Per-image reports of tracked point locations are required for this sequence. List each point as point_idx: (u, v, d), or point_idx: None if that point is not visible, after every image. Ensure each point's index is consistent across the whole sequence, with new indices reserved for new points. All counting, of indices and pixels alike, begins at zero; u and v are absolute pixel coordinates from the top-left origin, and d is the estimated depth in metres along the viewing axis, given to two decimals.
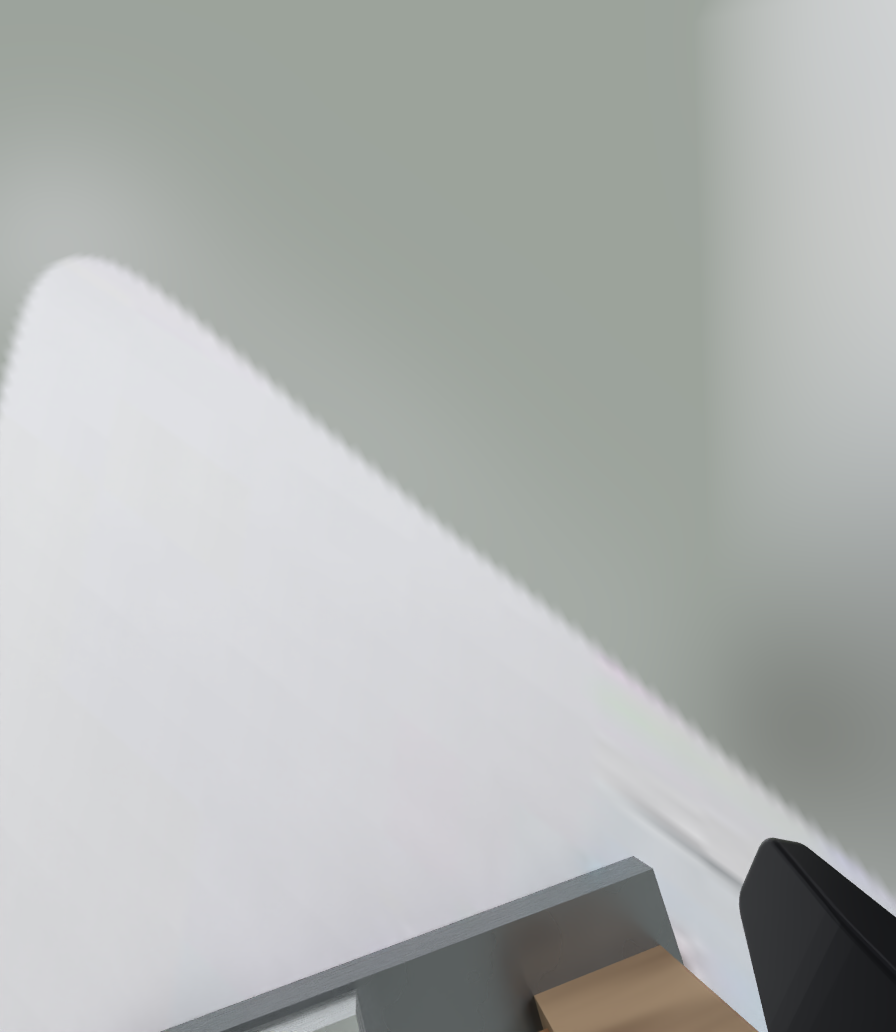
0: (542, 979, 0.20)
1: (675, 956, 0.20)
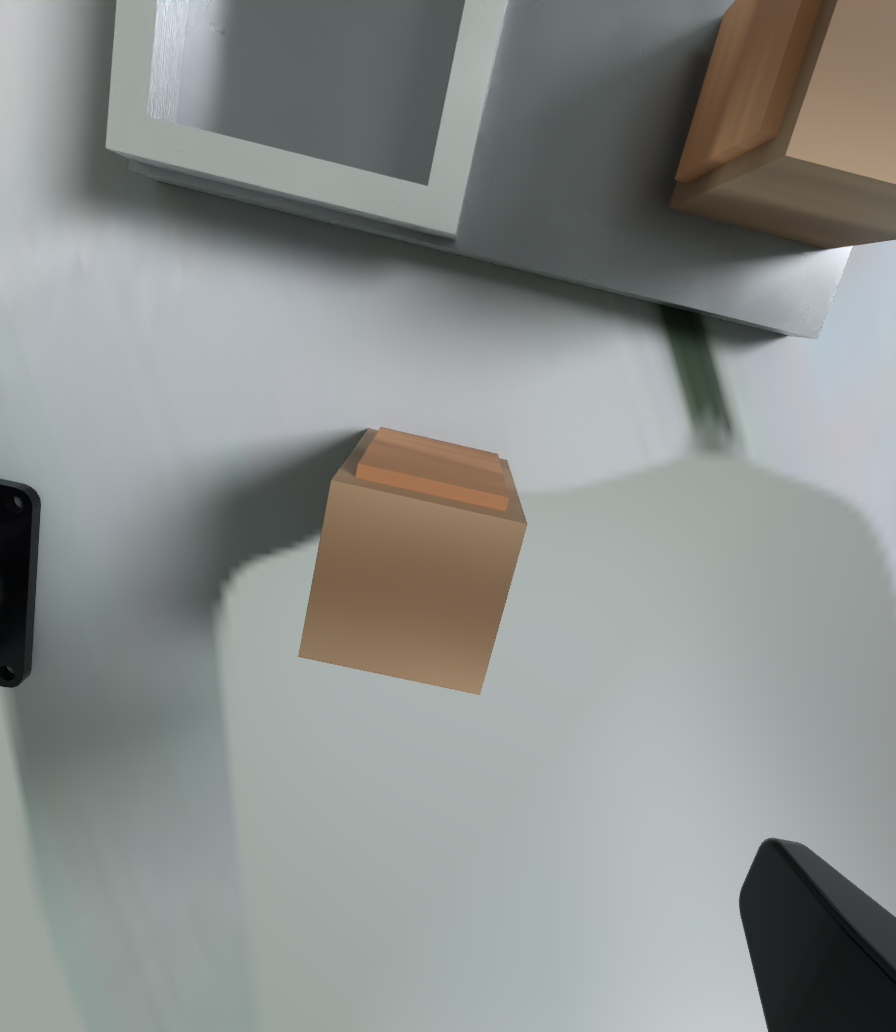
0: None
1: None
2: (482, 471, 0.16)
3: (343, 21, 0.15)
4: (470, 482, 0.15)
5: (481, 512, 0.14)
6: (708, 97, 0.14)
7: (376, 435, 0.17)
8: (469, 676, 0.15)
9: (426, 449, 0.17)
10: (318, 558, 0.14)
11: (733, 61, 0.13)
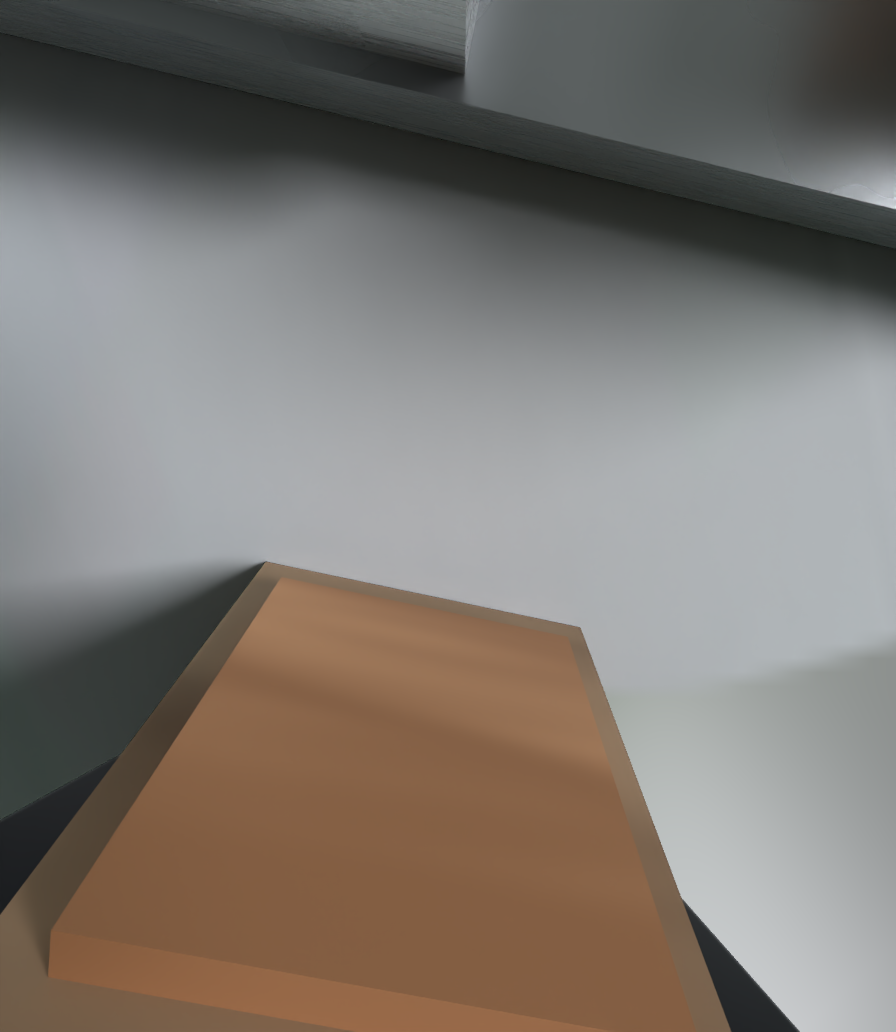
0: None
1: None
2: (552, 775, 0.05)
3: None
4: (528, 918, 0.04)
5: None
6: None
7: (251, 626, 0.06)
8: None
9: (386, 670, 0.06)
10: None
11: None
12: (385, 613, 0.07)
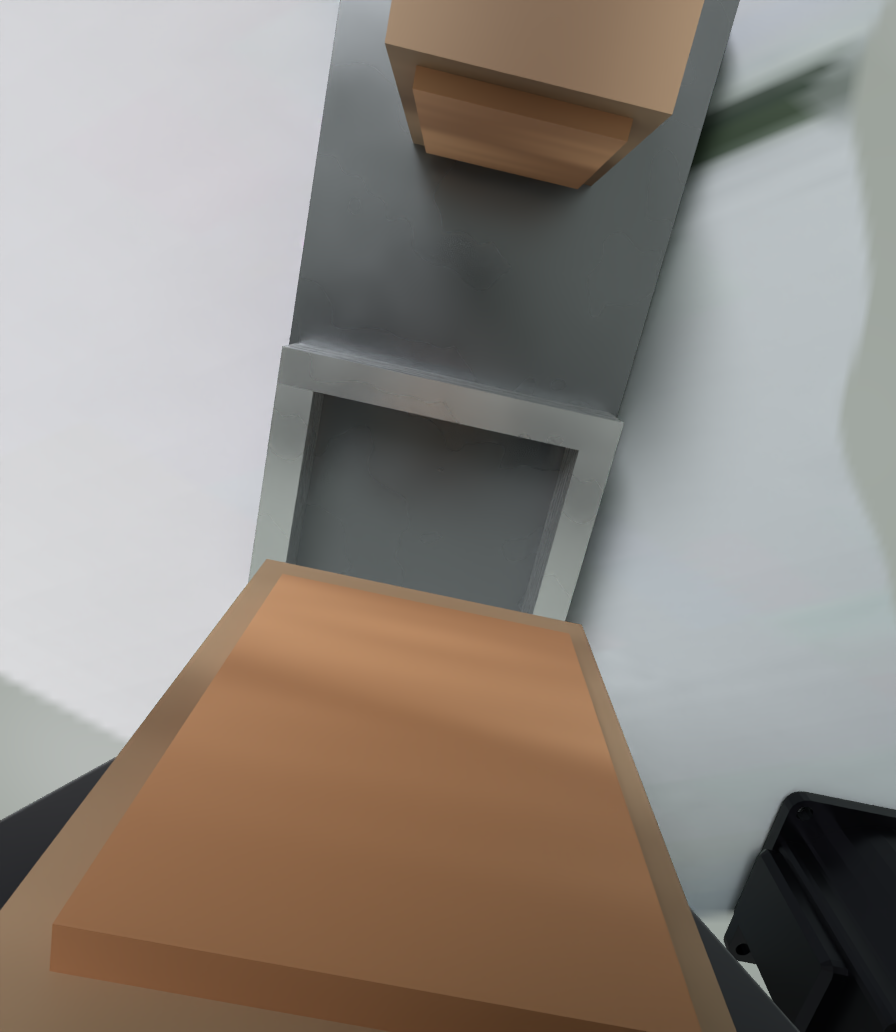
0: (402, 121, 0.15)
1: None
2: (554, 771, 0.05)
3: (425, 512, 0.17)
4: (531, 913, 0.04)
5: None
6: (513, 166, 0.13)
7: (252, 622, 0.06)
8: None
9: (387, 666, 0.06)
10: None
11: (499, 151, 0.12)
12: (386, 609, 0.07)
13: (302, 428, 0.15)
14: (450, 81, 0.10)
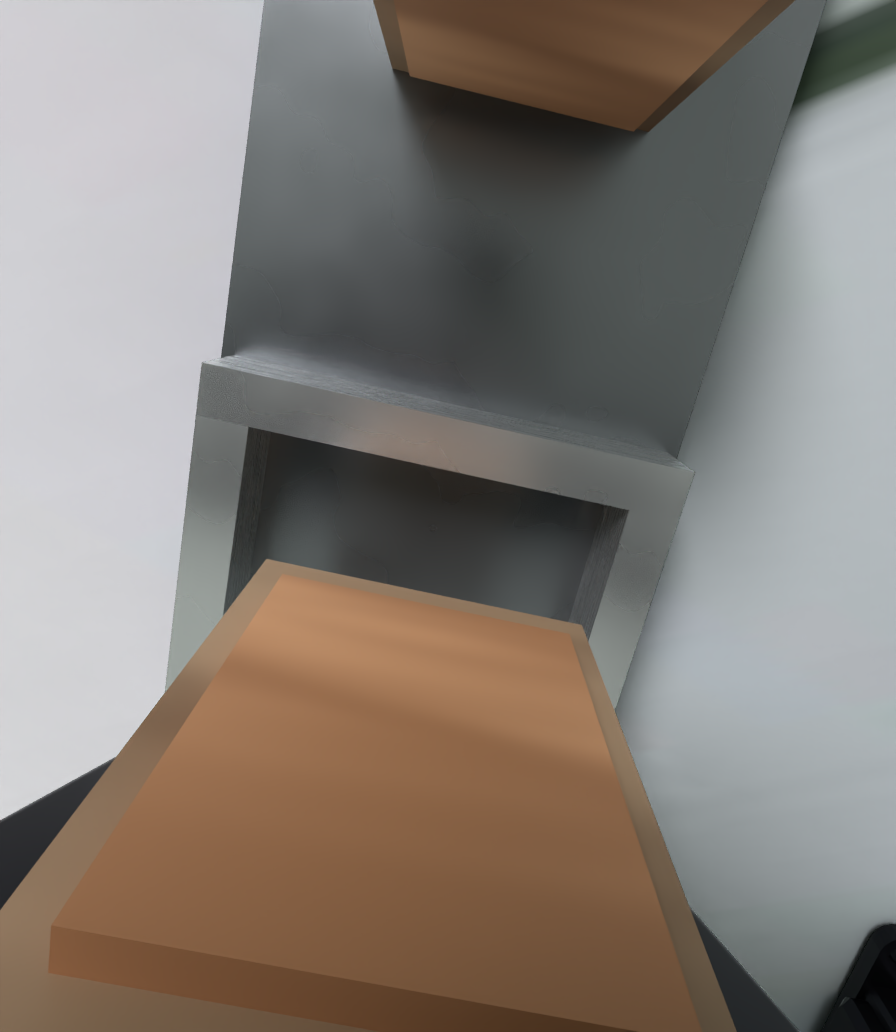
0: (376, 35, 0.10)
1: None
2: (554, 772, 0.05)
3: (412, 584, 0.13)
4: (531, 915, 0.04)
5: None
6: (540, 91, 0.09)
7: (252, 623, 0.06)
8: None
9: (387, 667, 0.06)
10: None
11: (521, 58, 0.08)
12: (386, 610, 0.07)
13: (234, 479, 0.11)
14: None
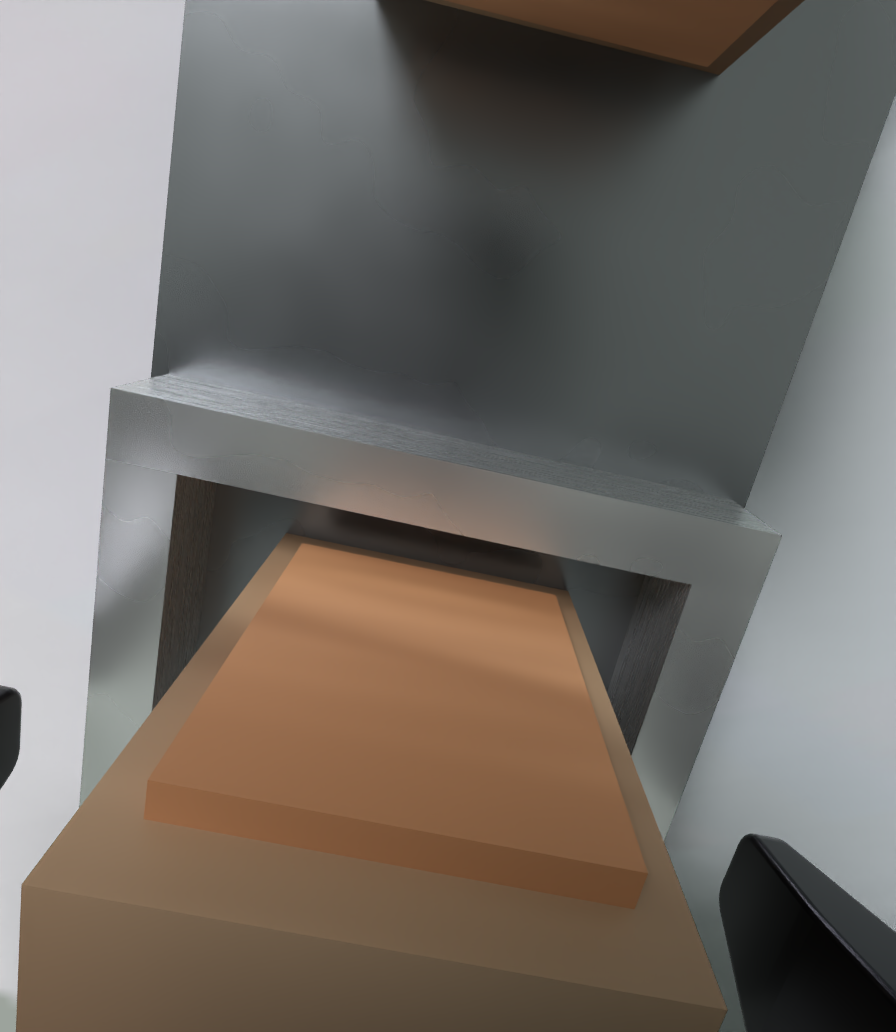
0: None
1: None
2: (537, 695, 0.06)
3: None
4: (515, 789, 0.05)
5: (566, 967, 0.04)
6: (582, 0, 0.06)
7: (279, 580, 0.07)
8: None
9: (396, 616, 0.07)
10: None
11: None
12: (394, 573, 0.08)
13: (160, 543, 0.08)
14: None
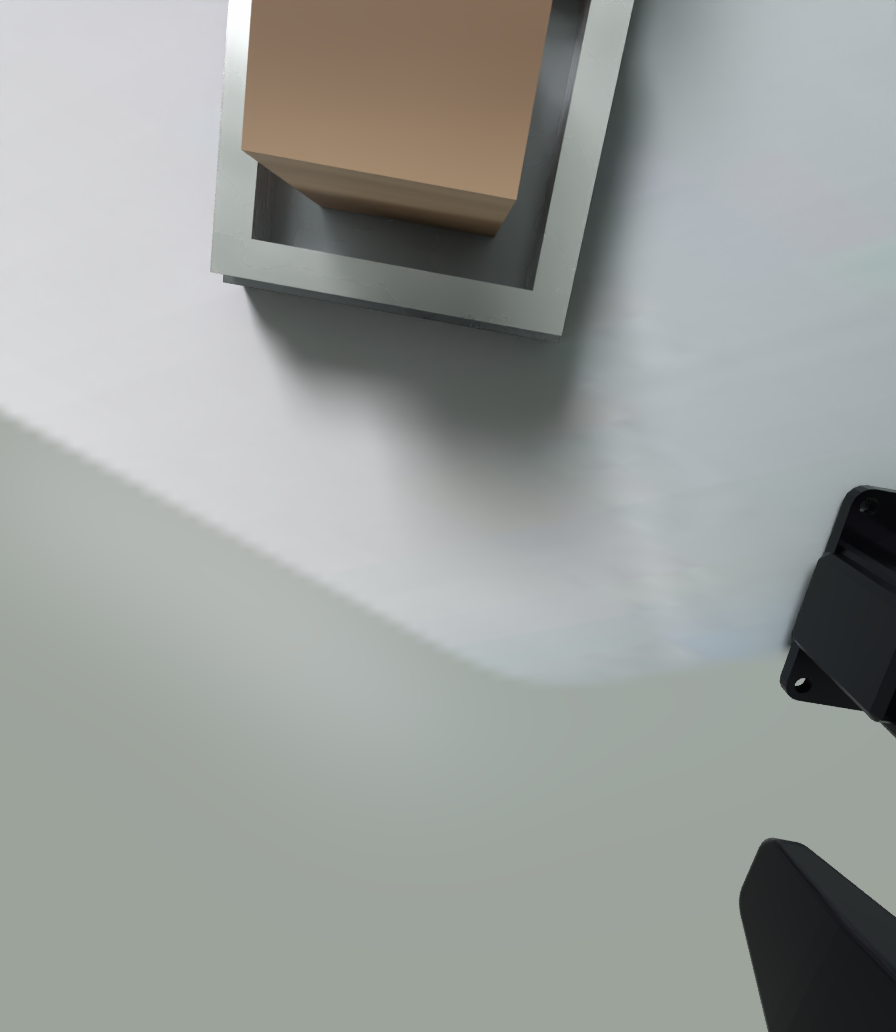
0: None
1: None
2: None
3: None
4: None
5: None
6: None
7: None
8: (498, 167, 0.10)
9: None
10: None
11: None
12: None
13: None
14: None
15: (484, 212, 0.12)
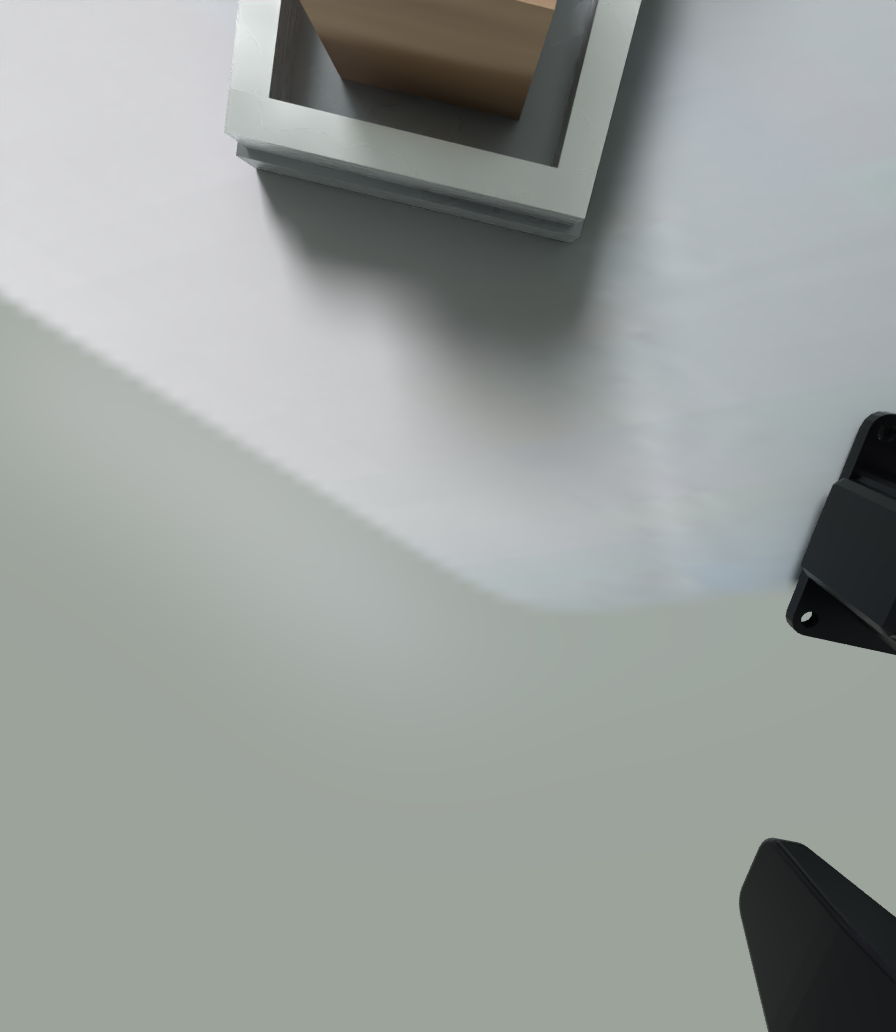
0: None
1: None
2: None
3: None
4: None
5: None
6: None
7: None
8: None
9: None
10: None
11: None
12: None
13: None
14: None
15: (515, 53, 0.11)
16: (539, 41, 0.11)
